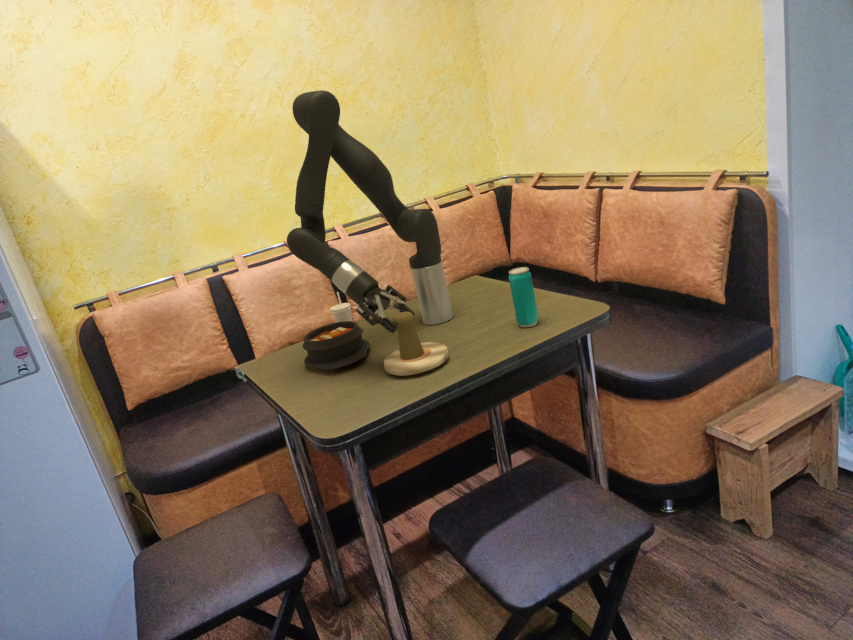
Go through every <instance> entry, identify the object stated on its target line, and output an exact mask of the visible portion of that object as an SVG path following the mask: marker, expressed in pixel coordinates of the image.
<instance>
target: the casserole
mask: <svg viewBox="0 0 853 640" xmlns="http://www.w3.org/2000/svg"><path fill="white" fill-rule="evenodd" d="M363 333H364V329H363V328H362V327H361V326H360V325H359V324H358V322H356V321H354V320H352V321H342V322H336V321H335V322H332V323H329V324H325V325H322V326H319V327H317V328H315V329H312V330H310V332H308V333H306V335H305V336H304V338H303V344H302V349H303V350H305V351H306V352H307V355H306V357H305V358H304V361H303V362H304V365H306V366H308V367H312V368H318V369H322V370H325V371H329V370H336V369H340V368H344V367H347V366H349V365H352V364H355V363H357V362H359V361H361V360H362V359H364V358H366V357H367V355H368V354H367V353H368V350H369V348H370V345H371V343H370V342H369V341H368V340H366V339H363V337H362V335H363Z"/></svg>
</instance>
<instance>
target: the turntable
mask: <svg viewBox="0 0 853 640" xmlns="http://www.w3.org/2000/svg"><path fill="white" fill-rule="evenodd" d="M421 345H422V348H423V350H424V354H423V355H422V356H420V357H418V358H415V359H412V360H402V359H401V358H400V350H399V349H396V350H394V351H393V352H391V353H390V354H388V355H387V356H386V357H385V358H384V359H383V365H384V366H383V367H384V370H385V372H386V373H388V374H389V375H391V376H392V375H394V376H411V375H412V376H413V375H416V374H421V373H425V372H428V371H430V370H433V369H435V368H437V367H439V366H441V365H442V364H443V363H445V362H446V361H447V360H448V358H449V351H448V347H447V346H446V345H445V344H443V343H441V342H434V341H432V342H431V341H430V342H429V341H428V342H427V341H426V342H421Z"/></svg>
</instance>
